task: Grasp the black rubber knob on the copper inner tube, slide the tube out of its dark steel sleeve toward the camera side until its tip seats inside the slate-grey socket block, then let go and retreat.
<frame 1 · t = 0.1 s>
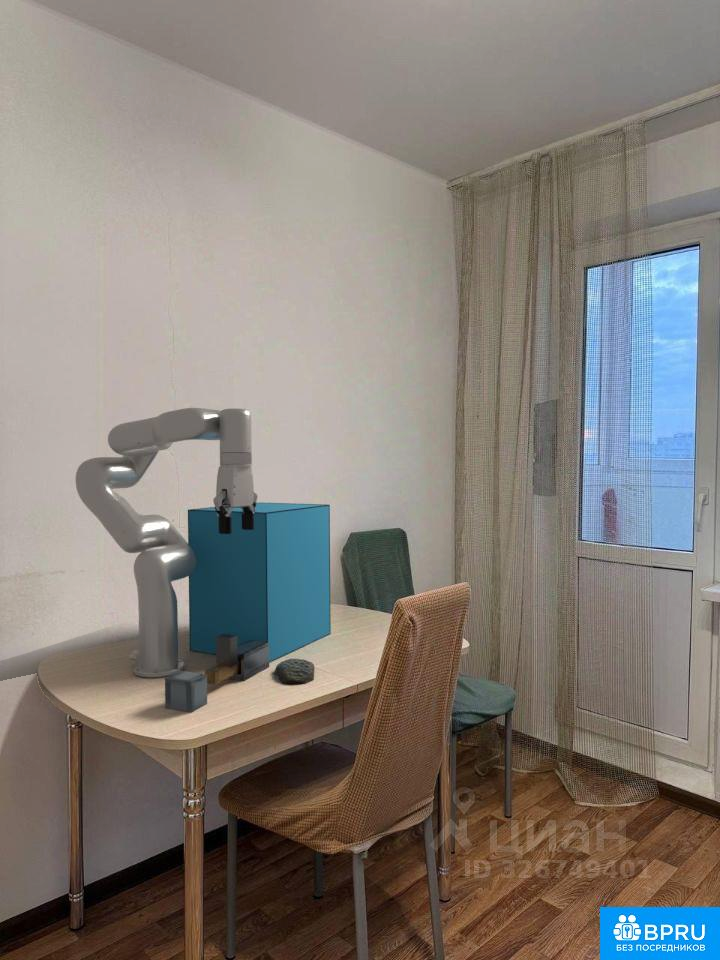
hand: (236, 531, 161), 37 cm above the table, tool pointing down, fingers open, 9 cm apart
sleeve: (247, 672, 170), on the table
box: (263, 642, 198), on the table
tube: (236, 651, 165), point 7 cm above the table, slide at 0.0 cm
fossil: (293, 678, 167), on the table
socket: (186, 705, 147), on the table
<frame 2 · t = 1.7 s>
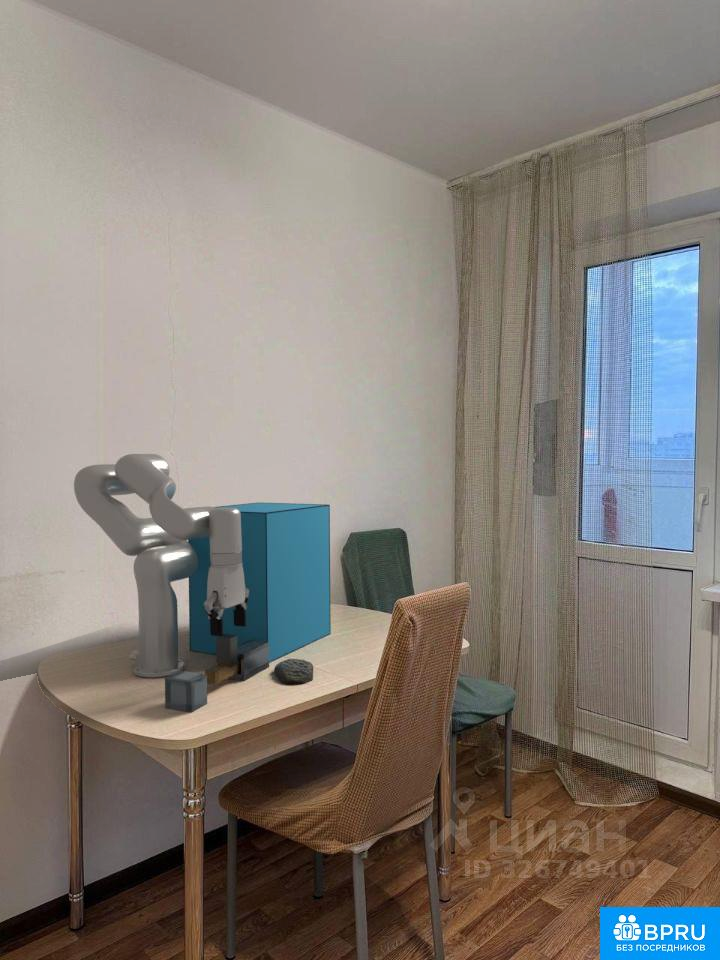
hand: (228, 630, 161), 13 cm above the table, tool pointing down, fingers open, 9 cm apart
nothing on the table moved.
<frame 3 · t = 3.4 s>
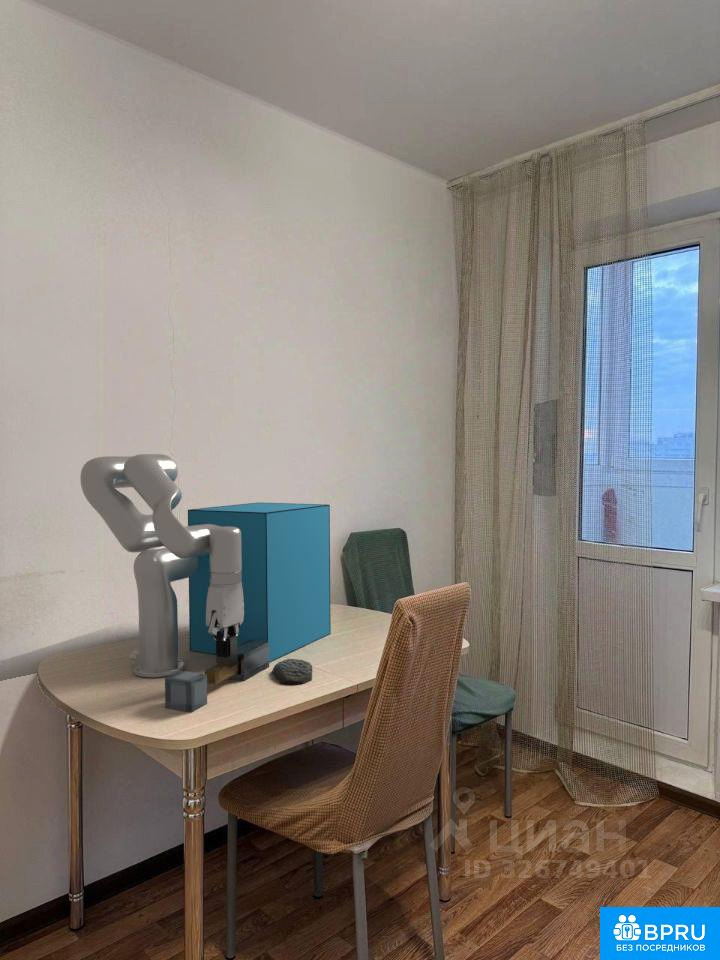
hand: (226, 653, 161), 7 cm above the table, tool pointing down, fingers closed on tube, 3 cm apart
tube: (236, 651, 165), point 7 cm above the table, slide at 0.0 cm, touching gripper
everything else where it was.
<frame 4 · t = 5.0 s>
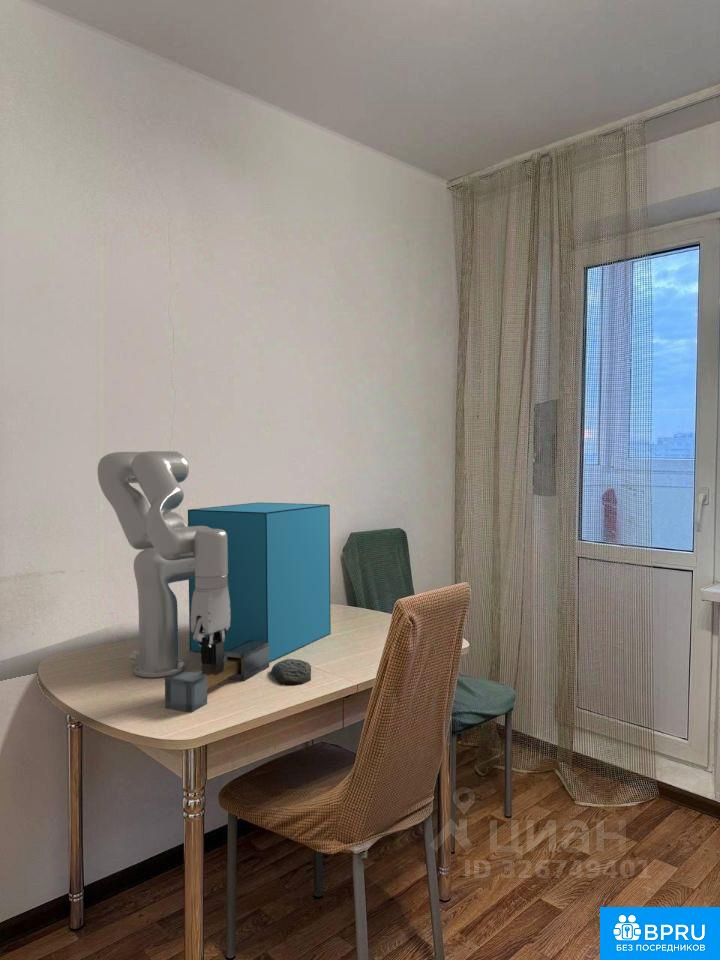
hand: (212, 660, 156), 7 cm above the table, tool pointing down, fingers closed on tube, 3 cm apart
tube: (222, 657, 160), point 7 cm above the table, slide at 5.8 cm, touching gripper
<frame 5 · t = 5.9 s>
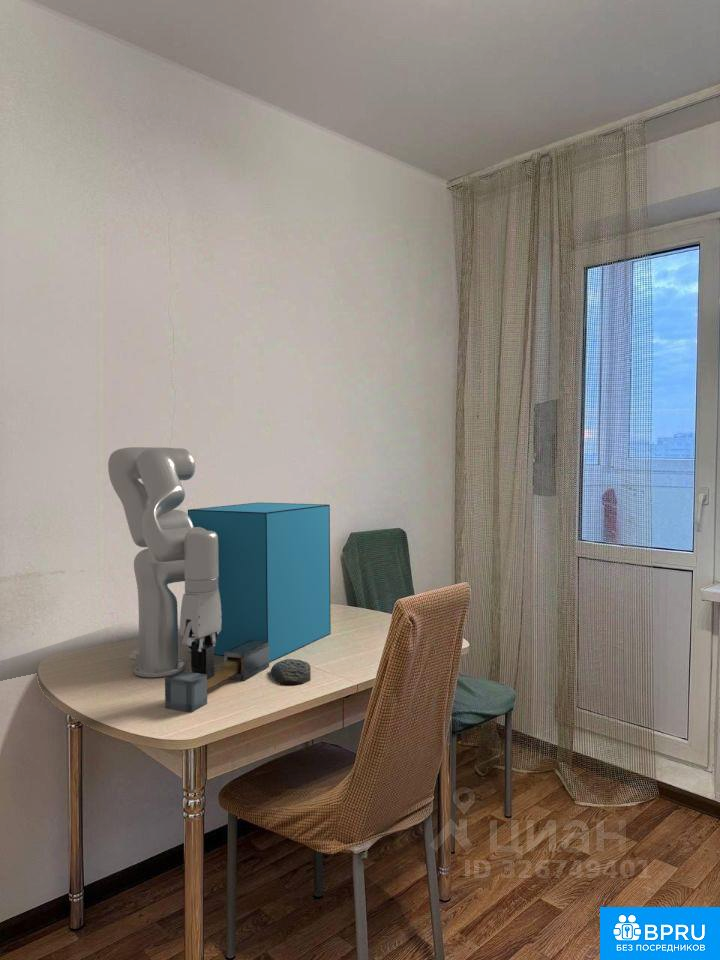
hand: (202, 665, 153), 7 cm above the table, tool pointing down, fingers closed on tube, 3 cm apart
tube: (213, 662, 156), point 7 cm above the table, slide at 9.6 cm, touching gripper
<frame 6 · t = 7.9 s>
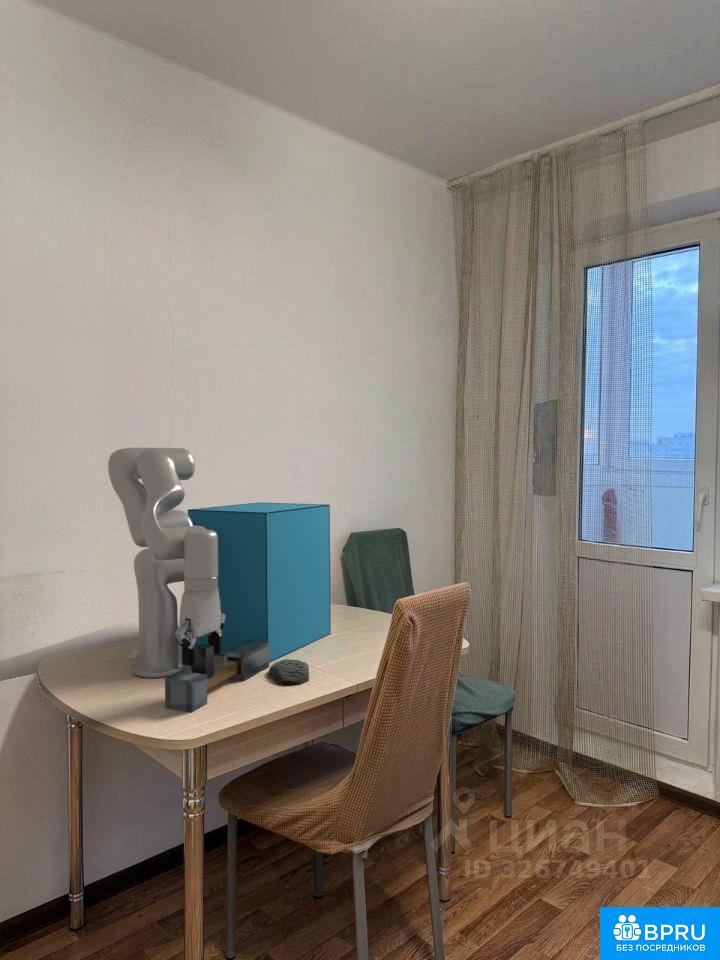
hand: (202, 659, 153), 9 cm above the table, tool pointing down, fingers open, 9 cm apart
tube: (213, 662, 156), point 7 cm above the table, slide at 9.7 cm
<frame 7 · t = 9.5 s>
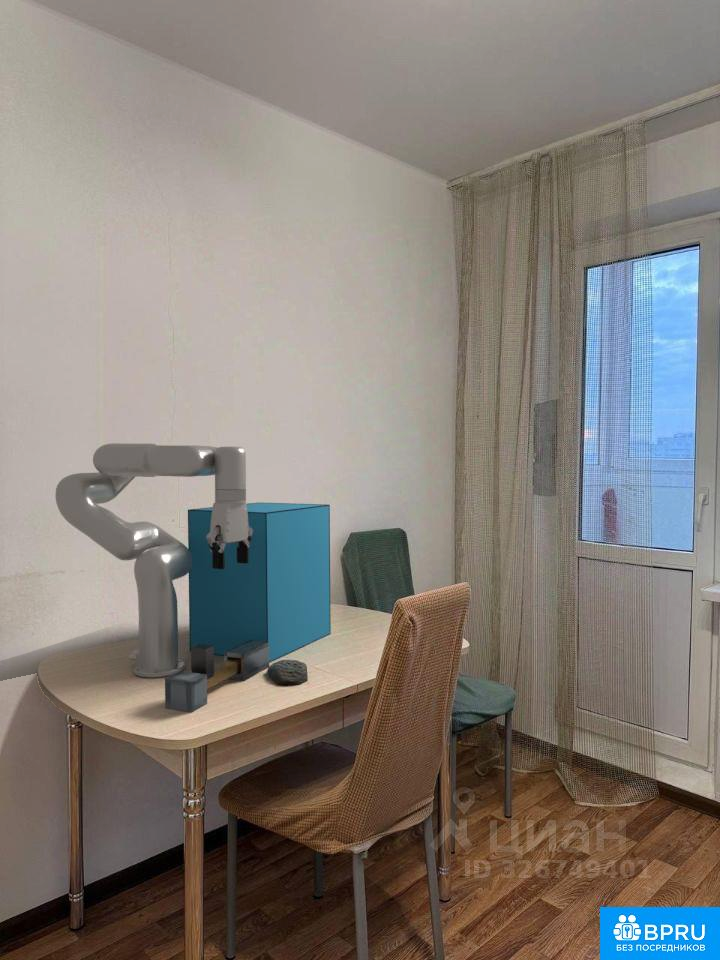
hand: (230, 565, 166), 28 cm above the table, tool pointing down, fingers open, 9 cm apart
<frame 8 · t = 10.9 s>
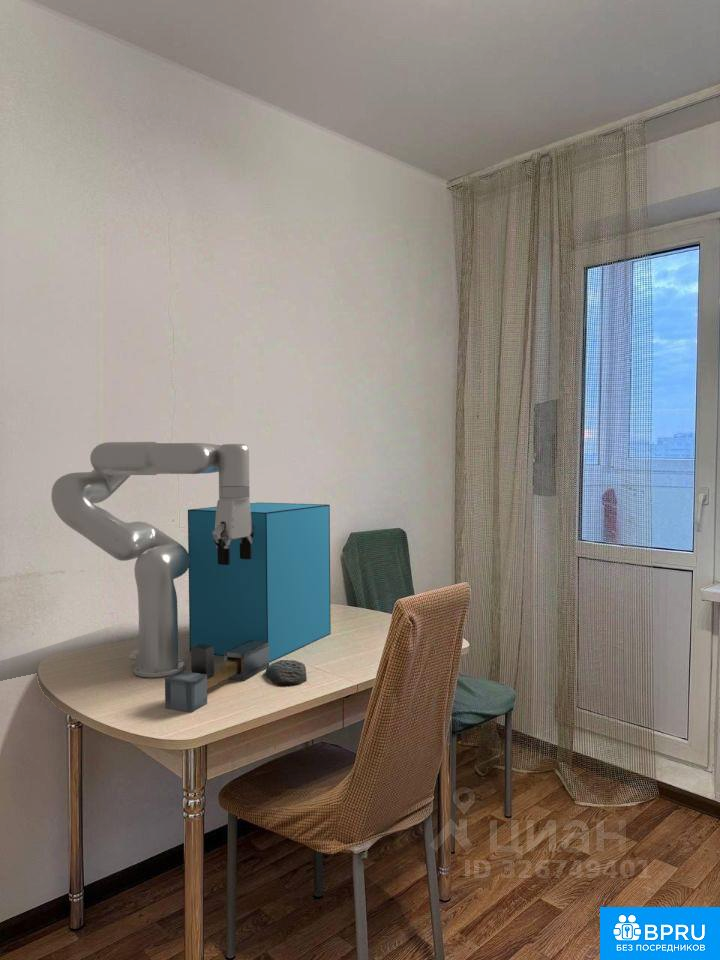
hand: (235, 561, 168), 28 cm above the table, tool pointing down, fingers open, 9 cm apart
at the end: tube slide at 9.7 cm; the gripper is holding nothing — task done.
